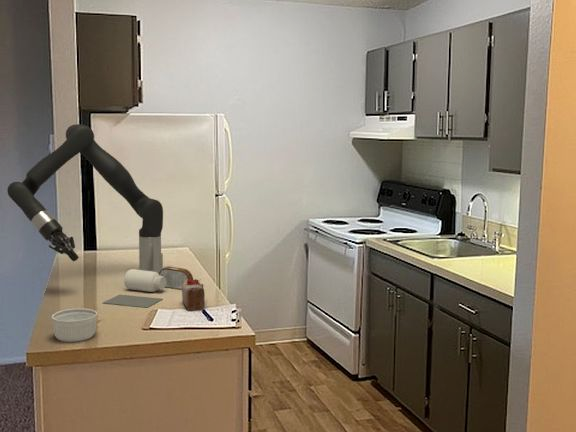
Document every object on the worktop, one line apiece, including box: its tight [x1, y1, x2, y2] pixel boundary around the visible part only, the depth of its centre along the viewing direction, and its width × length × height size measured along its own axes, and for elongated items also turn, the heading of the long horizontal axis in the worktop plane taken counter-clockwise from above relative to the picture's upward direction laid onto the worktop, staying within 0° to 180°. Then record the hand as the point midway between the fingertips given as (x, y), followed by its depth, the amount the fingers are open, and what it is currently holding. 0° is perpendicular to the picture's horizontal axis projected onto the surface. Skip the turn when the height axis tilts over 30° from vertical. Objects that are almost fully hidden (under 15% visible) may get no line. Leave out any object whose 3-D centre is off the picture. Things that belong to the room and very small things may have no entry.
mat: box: [102, 294, 163, 309], centre depth 232 cm, size 18×12×1 cm, turn 75°
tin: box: [159, 266, 194, 291], centre depth 251 cm, size 15×3×8 cm, turn 65°
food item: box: [181, 278, 206, 312], centre depth 227 cm, size 14×8×10 cm, turn 18°
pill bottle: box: [123, 268, 166, 293], centre depth 247 cm, size 8×8×15 cm
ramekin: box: [51, 307, 98, 343], centre depth 192 cm, size 13×13×7 cm
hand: (76, 259), depth 236 cm, fingers closed
